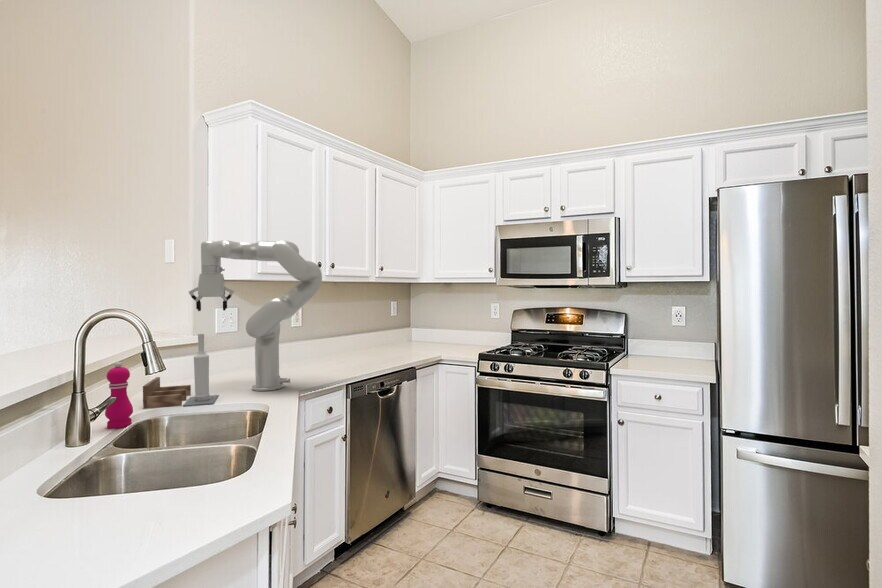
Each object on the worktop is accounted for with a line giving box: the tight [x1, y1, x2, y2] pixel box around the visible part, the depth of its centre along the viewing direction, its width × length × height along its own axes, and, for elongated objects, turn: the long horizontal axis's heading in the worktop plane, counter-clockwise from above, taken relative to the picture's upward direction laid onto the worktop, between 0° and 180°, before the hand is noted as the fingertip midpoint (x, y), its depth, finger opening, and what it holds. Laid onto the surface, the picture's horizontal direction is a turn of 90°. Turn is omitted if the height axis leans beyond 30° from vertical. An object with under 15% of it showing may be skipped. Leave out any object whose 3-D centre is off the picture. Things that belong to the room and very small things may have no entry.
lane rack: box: [142, 376, 192, 410], centre depth 178 cm, size 12×19×8 cm, turn 18°
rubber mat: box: [182, 394, 220, 408], centre depth 177 cm, size 10×14×1 cm
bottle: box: [193, 333, 211, 401], centre depth 177 cm, size 5×5×25 cm
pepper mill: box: [104, 361, 134, 430], centre depth 146 cm, size 7×7×20 cm
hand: (212, 310), depth 199 cm, fingers open, 9 cm apart
